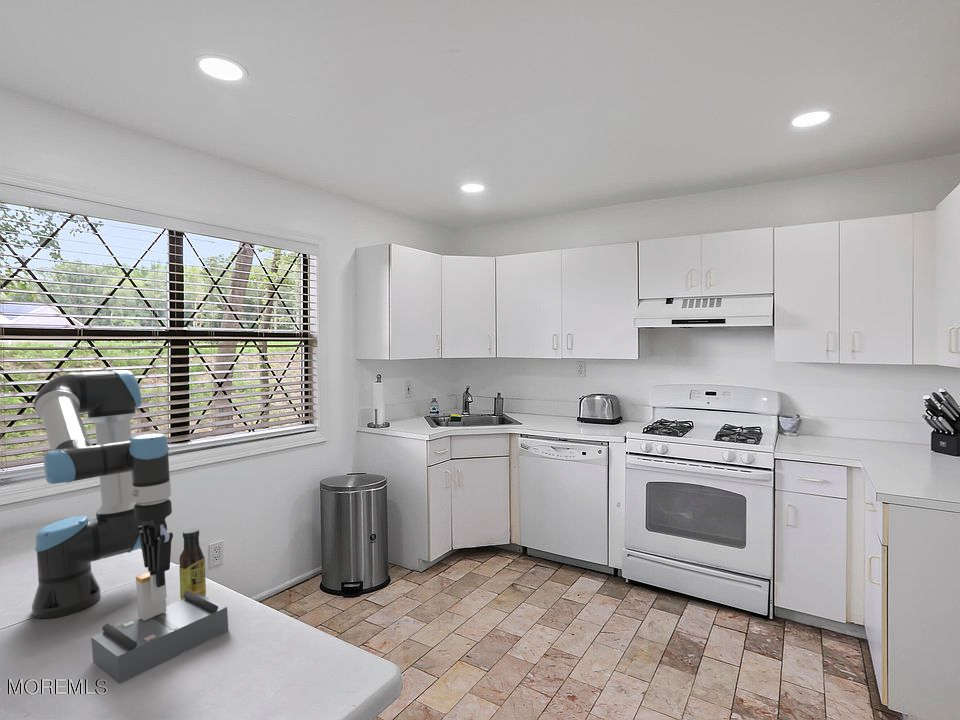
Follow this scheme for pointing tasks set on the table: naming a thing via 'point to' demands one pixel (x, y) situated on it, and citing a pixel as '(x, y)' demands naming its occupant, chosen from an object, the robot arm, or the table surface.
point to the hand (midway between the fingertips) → (159, 598)
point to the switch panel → (158, 638)
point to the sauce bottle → (192, 565)
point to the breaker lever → (147, 599)
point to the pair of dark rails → (132, 644)
